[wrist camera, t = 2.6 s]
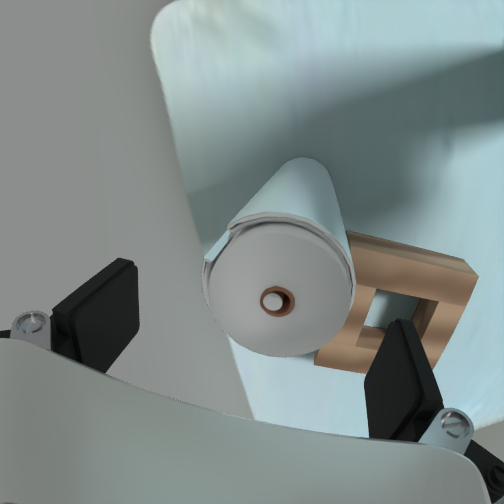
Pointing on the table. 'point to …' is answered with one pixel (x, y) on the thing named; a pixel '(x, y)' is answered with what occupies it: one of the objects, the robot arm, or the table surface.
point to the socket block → (405, 282)
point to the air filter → (283, 265)
